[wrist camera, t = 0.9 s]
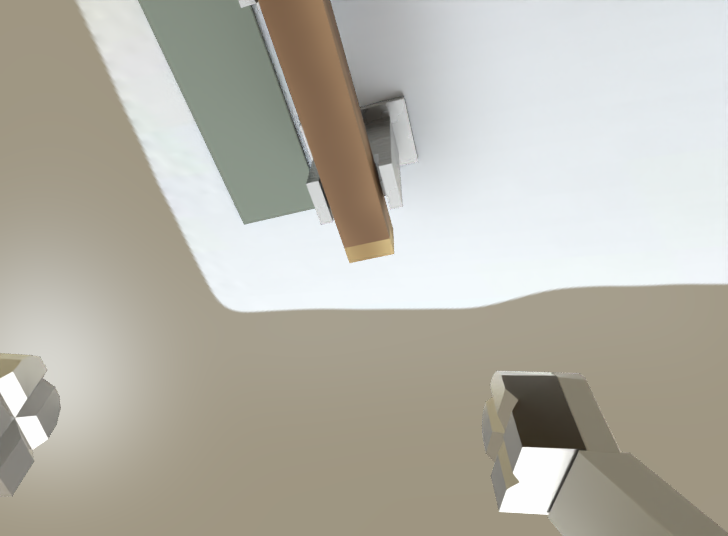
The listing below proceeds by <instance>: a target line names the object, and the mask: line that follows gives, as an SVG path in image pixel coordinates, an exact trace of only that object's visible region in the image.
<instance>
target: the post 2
mask: <svg viewBox="0 0 728 536" xmlns="http://www.w3.org/2000/svg"><path fill="white" fill-rule="evenodd" d="M360 111H361V114H362V118H363V122H364V125H365V129H366V133H367V136H368V140H369V143H370V147H371V151H372V154H373V158H374V162H375V165H376V169H377V173H378V176H379V180H380V183H381V187H382V191H383V194H384V196H387V199H388V203H389V207H390V209H394V208H398V207H403V205H402V191H401V177H400V166H402V165H407V164H411V163H415V162H418V158H417V153H416V149H415V144H414V140H413V135H412V130H411V126H410V121H409V117H408V112H407V108H406V103H405V99H404V96H402V97H398V98H394V99H390V100H386V101H383V102H379V103H375V104H371V105H367V106H364V107H360ZM299 127H300V130H301V133H302V135H303V138H304V141H305V144H306V147H307V150H308V152H309V155H310V158H311V161H312V164H311V168H310V171H309V175H308V178H307V182H306V185H307V188H308V191H309V193H310V196H311V199H312V201H313V204H314V207H315V210H316V212H317V215H318V218H319V220H320V223H321V225H322V224H327V223H331V222H333V218H334V217H333V214H332V211H331V208H330V205H329V203H328V200H327V197H326V194H325V191H324V188H323V185H322V183H321V180H320V177H319V174H318V171H317V168H316V165H315V162H314V160H313V157H312V154H311V151H310V148H309V145H308V142H307V140H306V137H305V134H304V131H303V128H302V125H301V123H300V125H299Z"/></svg>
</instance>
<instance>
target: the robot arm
mask: <svg viewBox="0 0 728 536" xmlns="http://www.w3.org/2000/svg"><path fill="white" fill-rule="evenodd" d="M46 371H47V369H46V366H45V365H44V363H43V361H42V359H41V357H38V356H33V355H22V354H21V355H20V354H5V353H0V496H13V494H14V493H15V491H16V490H17V488H18V486H19V485H20V483H21V482H22V480H23V478H24V477H25V475H26V473H27V472H28V470H29V469H30V467H31V466H32V464H33V462H34V456H33V449H34V448H35V447H37V446H38V445H40V444H41V443H43V442H44V441H46V440H47V439H48V438H49V437H50V435H51V433H52V431H53V430H54V428H55V426H56V425H57V421H58V417H59V412H60V408H61V407H60V396H59V394H58V392H57V390H56V388H55V386H53V385H52V384H50V383H49V382H48V381H46V380H45V379H43V377H44V375H45V373H46ZM490 387H491V391H492V395H493V397H491V398H490V399H489V400H487V401H486V402H485V407H484V411H483V419H482V420H483V421H482V433H483V441H484V446H485V451H486V454H487V455H488V456H489V457H490V458H491V459H492V460H493V461H494V462H495V465H494V467H493V471H492V474H491V479H492V483H493V487H494V492H495V496H496V501H497V505H498V509H499V512H514V513H531V514H532V513H533V514H548V518H549V520H550V521H551V522H552V523H553V524H554V526H555V527H556V528H557V529H558V530H559V532H560V533H561V534H562V535H563V536H728V533H727V532H726V531H725V530H724V529H723V528H721V527H720V526H719V525H718V524H717V523H715V522H714V521H713V520H712V519H710V518H709V517H708V516H707V515H705V514H704V513H703V512H702V511H701V510H699V509H698V508H697V507H696V506H694V505H693V504H692V503H691V502H690V501H688V500H687V499H686V498H685V497H684V496H682V495H681V494H680V493H679V492H677V491H676V490H675V489H674V488H672V487H671V486H670V485H669V484H668V483H666V482H665V481H664V480H663V479H662V478H660V477H659V476H658V475H657V474H655V473H654V472H653V471H652V470H650V469H649V468H648V467H647V466H646V465H644V464H643V463H642V462H641V461H640V460H638V459H637V458H636V457H635V456H634V455H632V454H631V453H628V452H621V451H620V449H619V447H618V445H617V443H616V440H615V439H614V437H613V435H612V432H611V430H610V428H609V426H608V424H607V422H606V420H605V418H604V416H603V414H602V411H601V410H600V407H599V405H598V403H597V401H596V399H595V397H594V395H593V393H592V391H591V389H590V387H589V385H588V383H587V381H586V378H585V377H584V376H583V375H582V374H580V373H549V372H516V371H515V372H514V371H496V372H495V374H494V375H493V377H492V381H491V384H490Z"/></svg>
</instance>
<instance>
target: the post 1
mask: <svg viewBox="0 0 728 536" xmlns="http://www.w3.org/2000/svg"><path fill="white" fill-rule="evenodd" d="M238 1H239V4H240V7H241V8H243V7H246V6H249V5H252V4H256V5H257V8H258V10H261V8H260V5H259V2H258V0H238Z"/></svg>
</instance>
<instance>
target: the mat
mask: <svg viewBox="0 0 728 536" xmlns="http://www.w3.org/2000/svg"><path fill="white" fill-rule="evenodd" d="M138 1H139V3H140V5H141V7H142V9H143V11H144V14H145V16H146V18H147V20H148V22H149V24H150V26H151V28H152V30H153V33H154V35H155V37H156V39H157V41H158V43H159V45H160V47H161V50H162V52H163V54H164V56H165V58H166V60H167V62H168V64H169V66H170V69H171V71H172V73H173V75H174V77H175V79H176V81H177V83H178V86H179V88H180V90H181V92H182V94H183V96H184V98H185V100H186V102H187V105H188V107H189V109H190V111H191V113H192V115H193V117H194V119H195V122H196V124H197V126H198V128H199V130H200V132H201V134H202V136H203V138H204V141H205V143H206V145H207V147H208V149H209V151H210V153H211V155H212V158H213V160H214V162H215V164H216V166H217V168H218V170H219V172H220V174H221V177H222V179H223V181H224V183H225V185H226V187H227V189H228V191H229V194H230V196H231V198H232V200H233V202H234V204H235V206H236V208H237V210H238V213H239V215H240V217H241V219H242V221H243V223H244V224H249V223H253V222H257V221H262V220H266V219H270V218H275V217H279V216H283V215H288V214H292V213H297V212H301V211H305V210H310V209H314V208H315V207H314V204H313V201H312V199H311V196H310V193H309V191H308V188H307V185H306V182H307V178H308V175H309V171H310V168H309V165H308V162H307V160H306V157H305V154H304V151H303V149H302V146H301V143H300V140H299V137H298V135H297V132H296V129H295V126H294V123H293V121H292V118H291V115H290V112H289V109H288V107H287V104H286V101H285V98H284V95H283V93H282V90H281V87H280V84H279V81H278V79H277V76H276V73H275V70H274V68H273V65H272V62H271V59H270V56H269V54H268V51H267V48H266V45H265V42H264V40H263V37H262V34H261V31H260V28H259V26H258V23H257V20H256V17H255V14H254V12H253V9H252V6H251V5H249V6H246V7H243V8H241V7H240V4H239V1H238V0H138Z"/></svg>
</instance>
